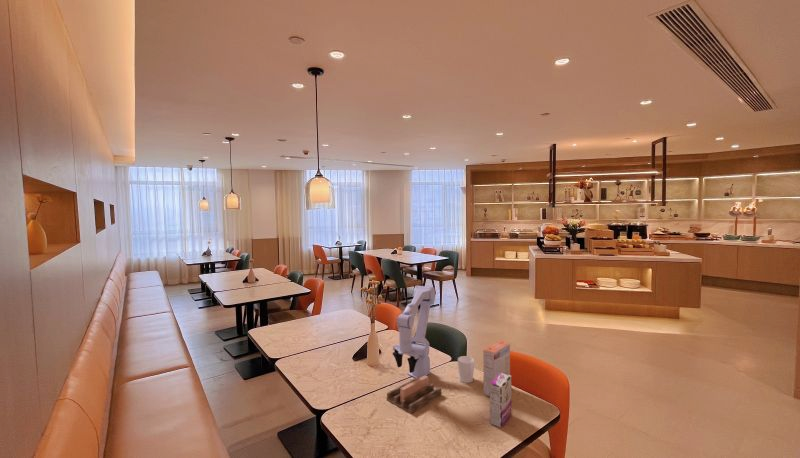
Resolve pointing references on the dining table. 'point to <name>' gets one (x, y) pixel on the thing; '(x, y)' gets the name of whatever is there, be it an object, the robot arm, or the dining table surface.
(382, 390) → the dining table surface
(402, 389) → the clay strip
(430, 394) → the slatted brown panel
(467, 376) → the white cup
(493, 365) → the cracker box
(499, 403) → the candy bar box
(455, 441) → the dining table surface
